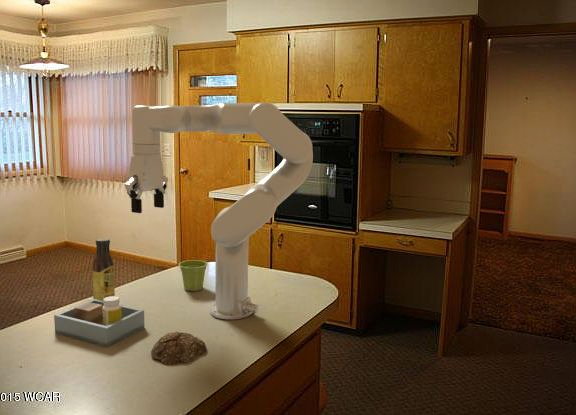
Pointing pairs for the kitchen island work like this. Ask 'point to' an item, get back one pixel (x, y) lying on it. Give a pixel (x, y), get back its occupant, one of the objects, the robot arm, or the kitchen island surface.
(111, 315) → the supplement bottle
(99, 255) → the sauce bottle
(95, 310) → the walnut block
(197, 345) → the bread roll
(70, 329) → the tote
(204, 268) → the plant pot
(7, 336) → the kitchen island surface
